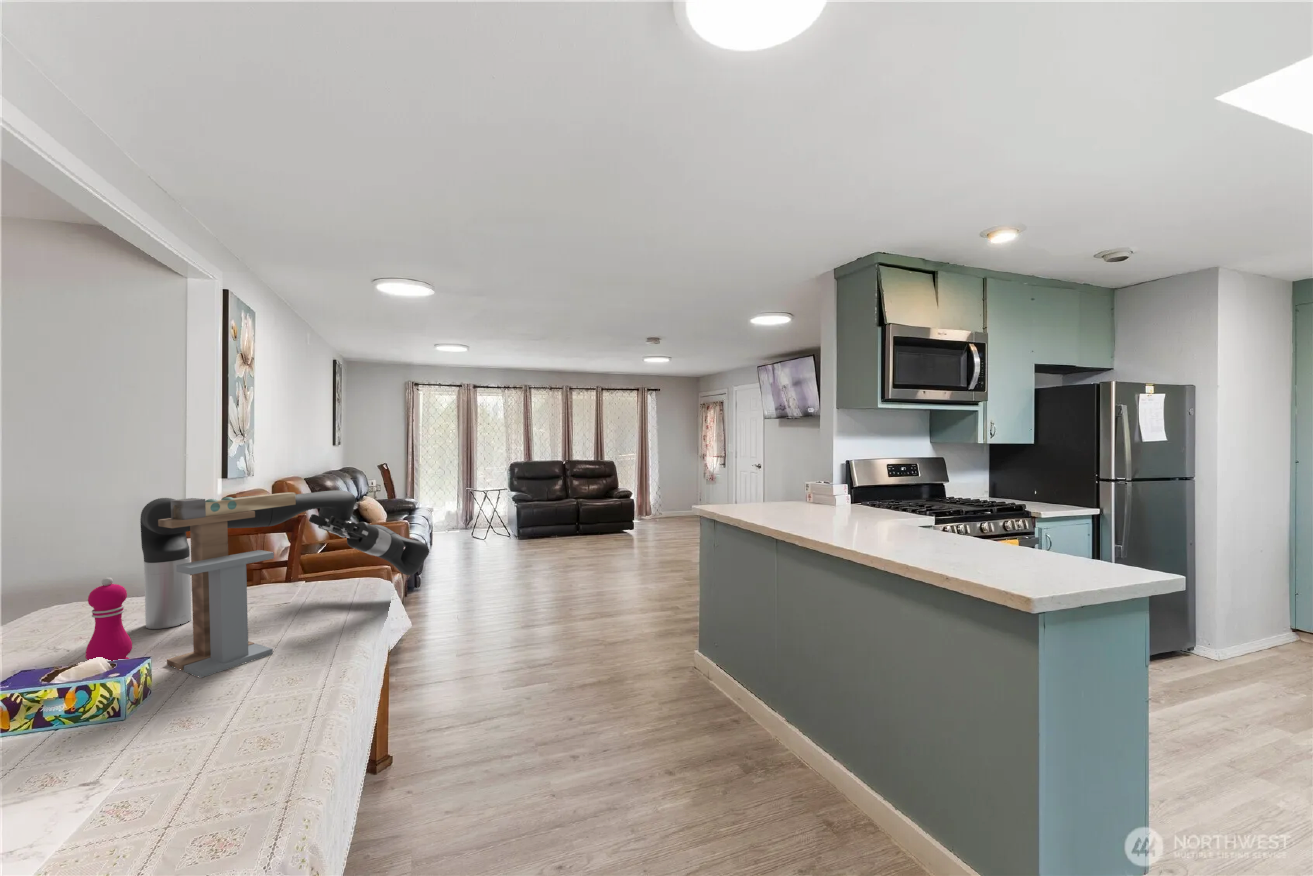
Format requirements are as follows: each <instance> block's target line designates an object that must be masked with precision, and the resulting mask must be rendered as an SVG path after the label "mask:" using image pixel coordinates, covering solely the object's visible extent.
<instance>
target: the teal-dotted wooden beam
mask: <svg viewBox="0 0 1313 876" xmlns="http://www.w3.org/2000/svg"><path fill="white" fill-rule="evenodd" d="M295 494H296V492H279V493H272V494H271V493H270V494H263V495H262V494H261V495H260V496H257V495H250V496H251V497H244V496H241V497H242V498H237V497H232V496H228V497H227V496H226V497H222V498H221V499H214V498H209V499H205V498H193V497H190V498H181V499H175V500H171V519H180V520H188V519H195V518H203V517H206V516H213V515H221V514H228V513H236V512H243V511H251V510H258V509H266V508H273V507H281V506H288V505H296V498H295Z"/></svg>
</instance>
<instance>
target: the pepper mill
mask: <svg viewBox="0 0 1313 876" xmlns="http://www.w3.org/2000/svg"><path fill="white" fill-rule="evenodd" d="M87 597H88V598H87V603H88V605H89V606H91V608H93V609H92V610H91V613H92V614H91V618H94V630H93V634H92V635H91V638H90V640H89V641H88V644H87V646H86V650H85V660H86V661H88V660H89V659H93V658H96V657H103V658H105V659H108V660H111V661H113V660H118V659H130V660H131V658H130V657H129V656H128V655H129V654H130V653H131V652H132V650H133V641H132V638H131V637H130V636H129V634H128V632H127V631H126V630H125V627H124V625H123V619H122V616H123V613H124V612H125V609H124V608H125V605H124V604H123V603H124V602H125V601H126V599H127V597H128V592H127V589H126V588H125V587H124V586H123V585H120V584H117V583H114V579H113V578H112V577H105V578H103V579H102V580H101V585H100V586H99V585H98V587H95V588H94V589H92V590H91V592H90V593H89V595H88V596H87Z"/></svg>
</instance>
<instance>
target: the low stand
mask: <svg viewBox="0 0 1313 876" xmlns="http://www.w3.org/2000/svg"><path fill="white" fill-rule="evenodd" d="M272 559H275V552H273V551H267V550H261V549H257V550H252V551H246V552H240V553H235V554H234V553H233V554H230V555H229V554H228V556H223V557H217V558H212V559H206V560H201V561H195V562H191V561H190V563H184V564H179V565H176V572H180V573H185V574H189V575H190V576H192V574H197V573H203V572H208V574H209V612H210V649H211V658H207V659H204V660H201V661H198V662H195V663H191V664H188V665H185V666H184V671H185V672H184V671H183V672H184V673H186V672H188V673H187V674H189V673H191V674H193V675H192V676H194V675H195V676H194V677H196V676H199V677H200V679H201V677H202V678H204V677H203V676H205V677H208V676H211V675H214V674H217V673H220V672H222V671H226V670H228V669H232V668H234V666H235V667H238V666H240V664H241V665H243V664H242V663H244V664H246V663H245V662H247V663H250V662H252V661H251V660H253V661H255V660H254V659H256V660H258V659H262V658H264V656H265V657H267V655H268V656H270V655H273V654H274V651H273V648H272V647H269V646H266V645H263V644H259V643H257V642H256V643H255V642H254V643H255V644H252V645H249V646H248V641H249V628H248V627H249V624H248V622H249V621H248V620H249V619H248V586H247V585H248V583H247V580H248V579H247V578H248V577H247V565H248V564H251V563H252V564H253V563H257V562H262V561H267V560H268V561H269V560H272ZM261 657H262V658H261ZM249 661H250V662H249ZM216 672H217V673H216ZM213 673H214V674H213ZM191 674H190V675H191ZM199 677H198V678H199Z"/></svg>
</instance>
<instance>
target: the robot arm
mask: <svg viewBox="0 0 1313 876" xmlns="http://www.w3.org/2000/svg"><path fill="white" fill-rule="evenodd" d="M251 496H252V495H247V496H238V497H236V498H242V497H251ZM256 496H260V495H256ZM295 498H296V505H288V506H281V507H273V508H266V509H258V510H251V511H255V517H253V518H245V519H238V520H230V521H227V528H228V529H245V528H249V529H250V528H252V529H253V528H263V527H264V528H266V527H272V526H273V527H274V526H278V525H279V524H282V523H284V522H286V521H289V520H290V519H292V518H294V517H296V516H298V515H300V514H301V513H304V512H305V513H306V511H307V512H308V511H310V510H315V509H319V512H318V515H317V514H315V513H314V514H313V513H312V514H311V515H310V517H309V519H308V521H309V523H312V524H314V525H315V526H317V528H318V529H320V530H323V531H326V532H329V533H330V534H333V535H337V536H339V537H341V538H346V544H347V545H348V546H349V547H350V548H352V549H355V550H357V551H360V552H362V553H365V554H367V555H370V556H375V557H378V558H380V559H382V560H385V561H387V562H389V563H390V564H391V565H392V566H393V567H395V568H396V570H398V571H399V572H400V573H401V574H403V575H405V576H413V575H415V574H416V573H417V572H418V571H419V570H420V568H421V566H423V563H424V562H425V560H426V559H427V557H428V556H429V553H430V548H429V545H428V544H426V543H424V542H423V541H419V540H415V539H411V538H407V537H404V536H402V535H400V534H398V533H396V532H395V531H393V530H392V529H390V528H389V527H386V526H384V525H381V524H370V523H368V522H365V521H360V522H358V523H356V521H354V520H353V519H352V516H353V512H354V507H355V504H356V496H355V494H353V493H351V492H350V491H348V490H347V491H346V490H339V489H338V490H336V489H335V490H325V491H315V492H305V493H295ZM171 500H176V499H175V498H171V497H159V498H156V499H153V500H151V501H149V502H148V503H146V504H145V506H144V507H143V508H142V510H141V512H140V519H139V520H140V521H139V522H140V523H139V524H140V539H141V540H140V541H141V549H142V555H143V572H144V573H143V574H144V604H145V605H144V609H145V611H144V612H145V613H144V617H145V628H146V629H149V630H159V629H167V628H172V627H177V626H181V625H184V624H186V623H189V622H190V621H191V620H192V581H191V575H189V574H185V573H180V572H176V565H179V564H184V563H190V562H191V548H190V545H189V542H188V537H187V532H188V533H189V532H190V526H185V527H178V528H167V527H160V526H158V520H160V519H168V518H171ZM188 621H189V622H188ZM180 624H181V625H180Z"/></svg>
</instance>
